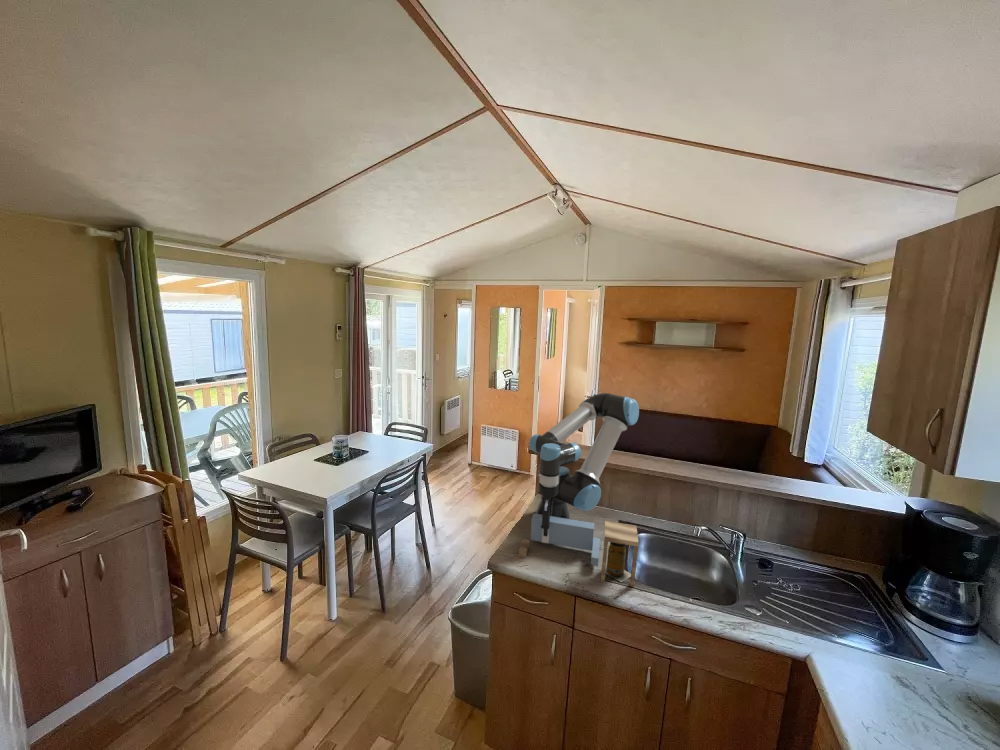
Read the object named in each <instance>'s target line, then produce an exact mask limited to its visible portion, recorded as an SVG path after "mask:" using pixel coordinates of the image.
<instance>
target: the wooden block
mask: <svg viewBox="0 0 1000 750" xmlns="http://www.w3.org/2000/svg"><path fill="white" fill-rule="evenodd" d="M530 540H531V539H525V538H524V539H522V541H521V543H520V547H519V550H518V557H519V558H522V559H523V558H524V559H526V557H527V554H528V551H529V548H530Z"/></svg>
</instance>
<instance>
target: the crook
mask: <svg viewBox="0 0 1000 750" xmlns="http://www.w3.org/2000/svg"><path fill="white" fill-rule="evenodd" d="M530 523H531V524H530V540H531V541H535V542H539V543H543V542H542V528H541V525H542V515H541V514H536V513H533V515H532V517H531V522H530ZM549 527H550V531H549V543H548V544H553V545H559V546H562V547H568V548H573V549H580V550H584V551H590V552H591V557H590V565H591V566H595V567H598V566H599V557H600V547H601V546H600V545H601V538H599V537H595V523H594V522H589V521H583V520H582V521H581V520H576V519H571V518H570V519H565V518H559V517H553V516H550V522H549Z"/></svg>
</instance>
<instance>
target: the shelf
mask: <svg viewBox="0 0 1000 750" xmlns="http://www.w3.org/2000/svg"><path fill="white" fill-rule="evenodd" d="M638 535H639V534H638V528H637V525H633V524H628V523H621V522H616V521H610V520H609V521H608V520H604V536H603V537H604V538H603V539H604V540H603V550H602V551H603V552H602V562H601V564H602V565H601V570H602V571H601V575H600V582H605V578H606V573H605V570H606V567H607V558H608V548H609V543H610V542H613V543H619V544H625V546H632V547H633V551H632V560H631V561H632V562H631V572H630V573H631V577H630V580H629V582H630V583H629V586H630V588H635V582H636V581H635V579H636V571H637V570H636V569H637V560H638V554H639V553H638V552H639V551H638V550H639V536H638Z"/></svg>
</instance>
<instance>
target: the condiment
mask: <svg viewBox="0 0 1000 750" xmlns="http://www.w3.org/2000/svg"><path fill="white" fill-rule="evenodd" d="M626 553H627V550H626V545H625V544H619V543H613V542H609V545H608V548H607V558H606V570H605V575H608V576H610V577H611V578H614V579H615V580H616V581H619V582H620V583H623V582H625V581H626V580H628V579H629V578H631V572H629V571H627V570H625V566H626V565H625V564H626ZM600 571H601V572H602V569H601V570H600Z"/></svg>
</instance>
